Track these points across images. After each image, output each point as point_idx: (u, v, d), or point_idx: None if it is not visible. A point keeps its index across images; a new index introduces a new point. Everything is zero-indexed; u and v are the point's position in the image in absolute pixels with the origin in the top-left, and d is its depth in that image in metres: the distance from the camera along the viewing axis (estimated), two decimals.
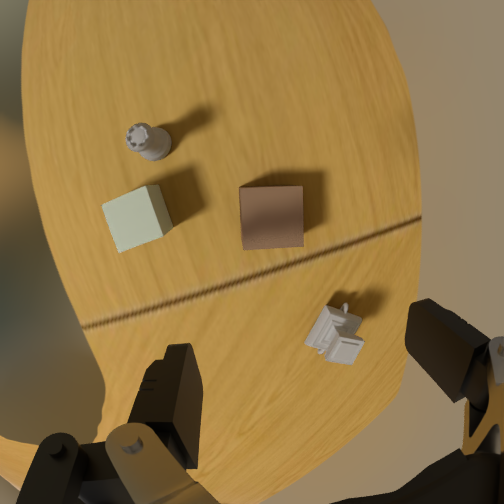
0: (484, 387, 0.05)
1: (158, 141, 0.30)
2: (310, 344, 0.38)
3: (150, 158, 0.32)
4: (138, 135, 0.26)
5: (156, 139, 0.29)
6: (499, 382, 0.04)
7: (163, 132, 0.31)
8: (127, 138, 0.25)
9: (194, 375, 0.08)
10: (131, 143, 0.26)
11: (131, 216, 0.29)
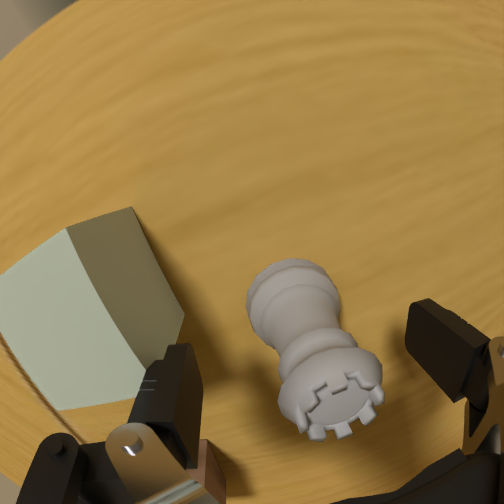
0: (484, 387, 0.05)
1: None
2: None
3: (252, 314, 0.12)
4: (342, 409, 0.07)
5: None
6: (499, 382, 0.04)
7: None
8: (341, 388, 0.06)
9: (194, 375, 0.08)
10: (316, 397, 0.06)
11: (61, 343, 0.08)
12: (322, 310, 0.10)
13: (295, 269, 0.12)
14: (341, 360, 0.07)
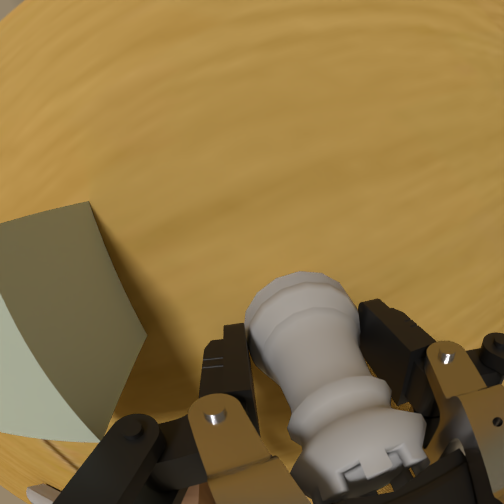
0: (423, 392, 0.06)
1: None
2: (28, 498, 0.12)
3: (252, 343, 0.09)
4: (373, 483, 0.04)
5: None
6: (448, 393, 0.04)
7: None
8: (381, 472, 0.03)
9: (248, 353, 0.09)
10: (344, 481, 0.04)
11: None
12: (345, 345, 0.07)
13: (307, 287, 0.09)
14: (382, 433, 0.04)
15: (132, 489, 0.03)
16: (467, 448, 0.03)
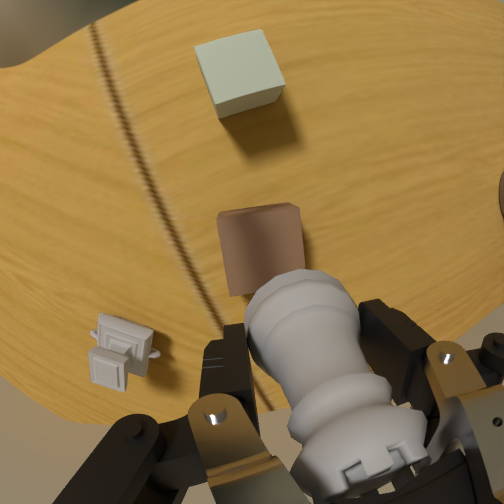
0: (423, 393, 0.06)
1: None
2: (99, 321, 0.26)
3: (252, 341, 0.09)
4: (374, 481, 0.04)
5: None
6: (448, 393, 0.04)
7: None
8: (383, 470, 0.03)
9: (248, 353, 0.09)
10: (345, 479, 0.03)
11: (244, 63, 0.19)
12: (346, 342, 0.07)
13: (307, 284, 0.09)
14: (383, 430, 0.04)
15: (132, 489, 0.03)
16: (467, 448, 0.03)
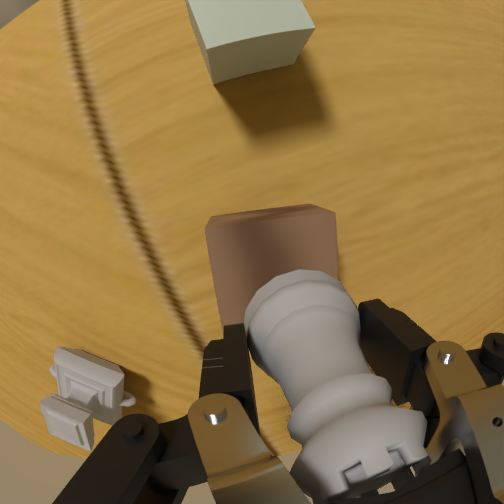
0: (423, 393, 0.06)
1: None
2: (56, 360, 0.17)
3: (252, 341, 0.09)
4: (374, 482, 0.04)
5: None
6: (448, 393, 0.04)
7: None
8: (382, 471, 0.03)
9: (248, 353, 0.09)
10: (345, 480, 0.03)
11: None
12: (346, 343, 0.07)
13: (307, 285, 0.09)
14: (383, 431, 0.04)
15: (132, 489, 0.03)
16: (467, 448, 0.03)
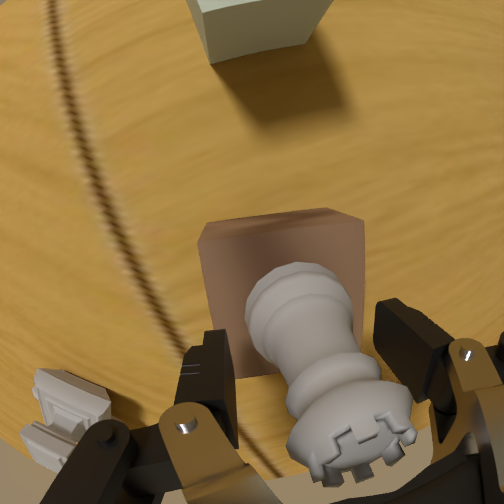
0: (445, 390, 0.05)
1: None
2: (36, 383, 0.14)
3: (253, 328, 0.10)
4: (365, 452, 0.05)
5: None
6: (466, 388, 0.04)
7: None
8: (370, 436, 0.04)
9: (229, 359, 0.09)
10: (337, 446, 0.04)
11: None
12: (338, 326, 0.08)
13: (304, 275, 0.10)
14: (370, 400, 0.05)
15: (109, 494, 0.03)
16: (479, 441, 0.03)
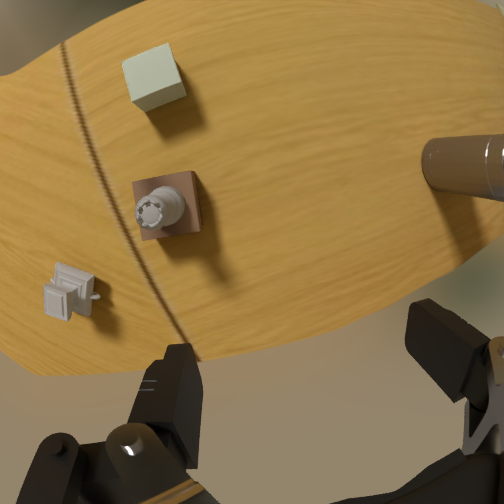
0: (484, 388, 0.05)
1: None
2: (56, 267, 0.32)
3: None
4: (150, 214, 0.23)
5: None
6: (499, 382, 0.04)
7: (175, 219, 0.29)
8: (145, 202, 0.23)
9: (194, 375, 0.08)
10: (141, 207, 0.23)
11: (153, 70, 0.25)
12: (162, 196, 0.27)
13: (161, 187, 0.28)
14: (149, 197, 0.23)
15: None
16: (503, 432, 0.03)
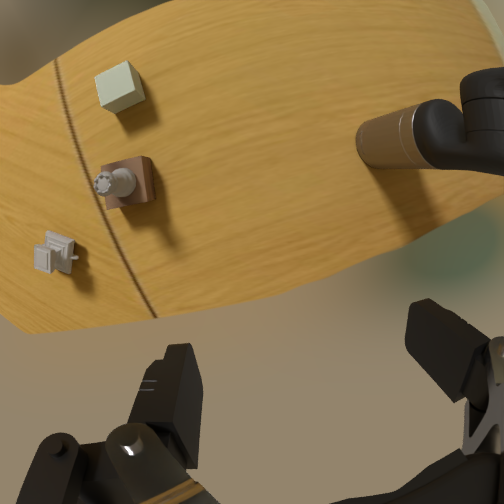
0: (484, 387, 0.05)
1: (115, 192, 0.35)
2: (46, 234, 0.40)
3: None
4: (103, 184, 0.31)
5: None
6: (499, 382, 0.04)
7: (127, 191, 0.37)
8: (100, 176, 0.30)
9: (194, 375, 0.08)
10: (97, 179, 0.30)
11: (116, 82, 0.33)
12: (116, 174, 0.34)
13: None
14: (103, 172, 0.31)
15: None
16: (503, 432, 0.03)
